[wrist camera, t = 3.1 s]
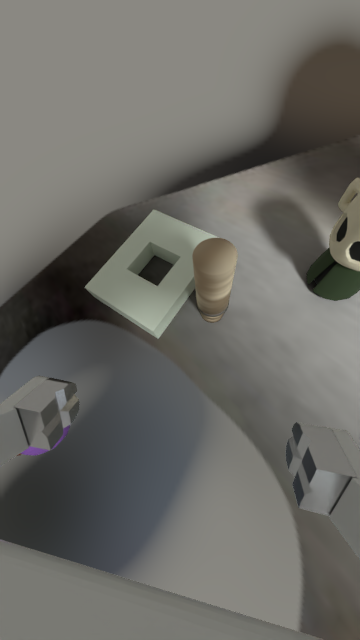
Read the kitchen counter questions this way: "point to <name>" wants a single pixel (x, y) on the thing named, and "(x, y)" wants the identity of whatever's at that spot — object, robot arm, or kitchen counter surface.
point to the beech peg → (213, 276)
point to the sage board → (139, 294)
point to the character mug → (341, 252)
